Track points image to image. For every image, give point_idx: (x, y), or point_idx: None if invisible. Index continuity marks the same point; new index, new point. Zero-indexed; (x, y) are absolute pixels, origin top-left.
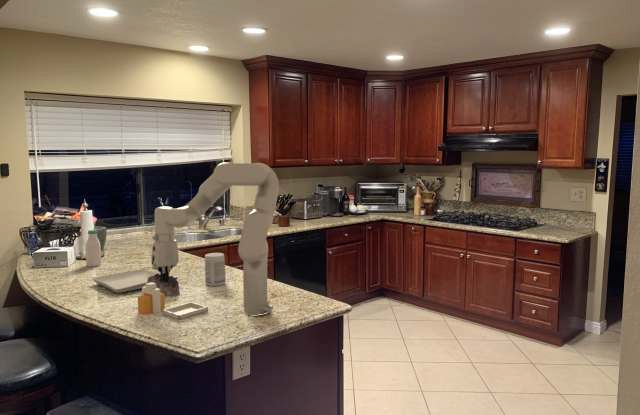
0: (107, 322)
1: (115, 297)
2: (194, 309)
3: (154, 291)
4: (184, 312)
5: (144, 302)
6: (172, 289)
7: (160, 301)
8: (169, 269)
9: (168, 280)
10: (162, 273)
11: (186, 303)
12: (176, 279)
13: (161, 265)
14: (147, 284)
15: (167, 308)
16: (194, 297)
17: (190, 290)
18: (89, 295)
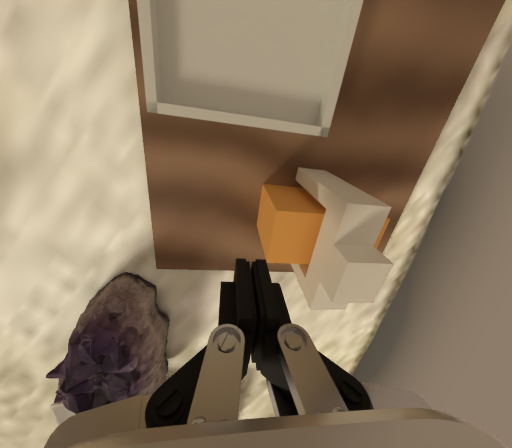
0: (412, 238)
1: (248, 369)
2: (190, 21)
3: (382, 204)
4: (262, 35)
5: None
6: (128, 304)
7: (314, 179)
8: (221, 359)
9: (238, 264)
10: (294, 333)
11: (188, 110)
12: (64, 359)
13: (458, 442)
14: (381, 284)
15: (302, 130)
16: (57, 233)
17: (28, 308)
18: (270, 400)
